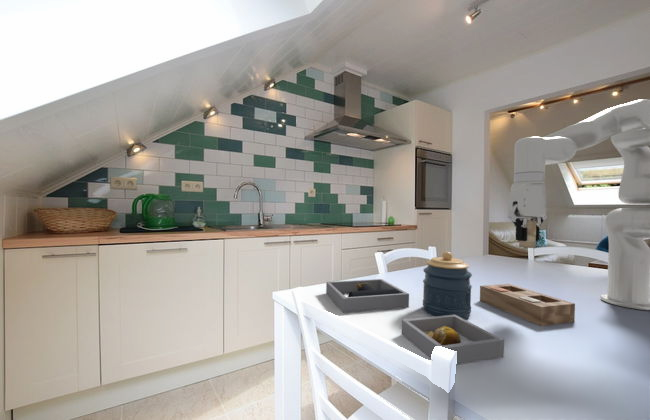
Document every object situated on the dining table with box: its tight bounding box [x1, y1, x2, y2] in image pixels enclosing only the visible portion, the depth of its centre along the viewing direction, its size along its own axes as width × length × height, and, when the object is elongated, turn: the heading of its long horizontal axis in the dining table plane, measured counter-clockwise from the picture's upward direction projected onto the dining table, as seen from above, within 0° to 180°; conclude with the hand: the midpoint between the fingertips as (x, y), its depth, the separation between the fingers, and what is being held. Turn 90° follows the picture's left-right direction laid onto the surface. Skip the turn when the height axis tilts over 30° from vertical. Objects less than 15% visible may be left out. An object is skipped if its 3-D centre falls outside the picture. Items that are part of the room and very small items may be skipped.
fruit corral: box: [401, 315, 505, 366], centre depth 62 cm, size 15×14×4 cm
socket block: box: [479, 283, 576, 327], centre depth 84 cm, size 12×20×5 cm, turn 16°
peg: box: [518, 219, 537, 249], centre depth 84 cm, size 4×4×8 cm
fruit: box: [424, 326, 462, 346], centre depth 63 cm, size 8×8×4 cm
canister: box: [422, 251, 473, 320], centre depth 82 cm, size 13×13×18 cm
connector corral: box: [325, 278, 410, 314], centre depth 91 cm, size 21×18×4 cm
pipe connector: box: [347, 283, 399, 297], centre depth 89 cm, size 12×5×15 cm
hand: (527, 239), depth 84 cm, fingers closed on peg, 4 cm apart
